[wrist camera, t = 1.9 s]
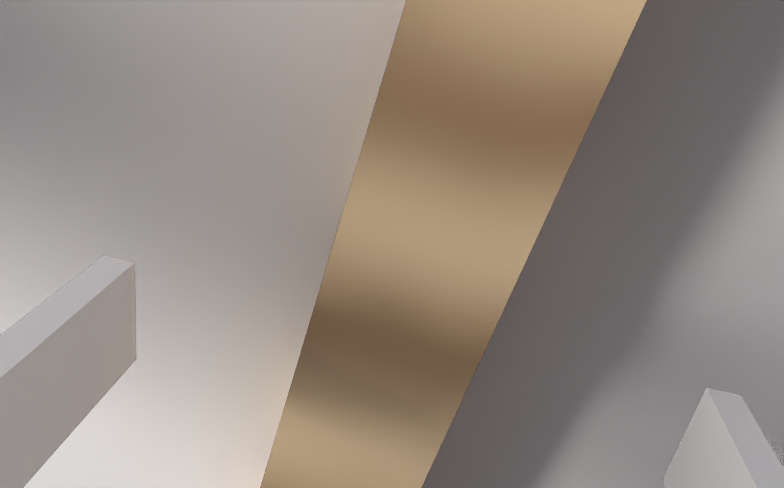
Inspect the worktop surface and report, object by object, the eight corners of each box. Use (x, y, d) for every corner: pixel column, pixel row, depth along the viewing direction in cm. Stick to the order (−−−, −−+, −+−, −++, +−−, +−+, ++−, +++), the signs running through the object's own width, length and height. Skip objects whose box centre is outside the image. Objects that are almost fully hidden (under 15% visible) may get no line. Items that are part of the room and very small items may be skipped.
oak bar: (362, 537, 24) (337, 669, 20) (265, 505, 24) (217, 630, 20) (658, -160, 14) (744, -212, 10) (490, -219, 14) (496, -301, 9)
